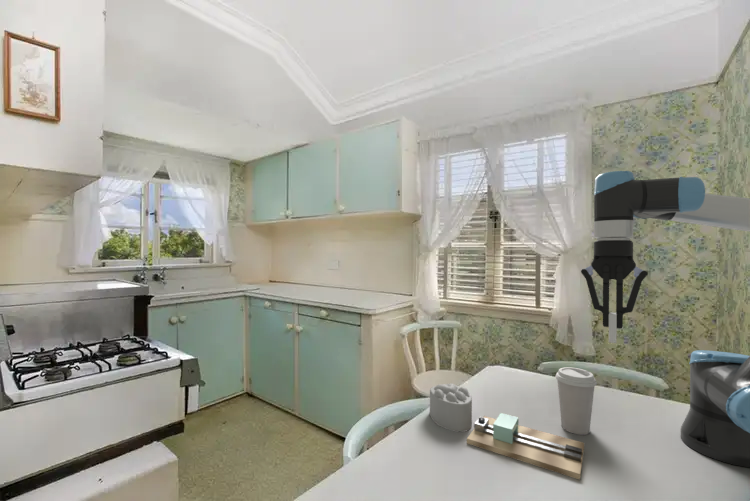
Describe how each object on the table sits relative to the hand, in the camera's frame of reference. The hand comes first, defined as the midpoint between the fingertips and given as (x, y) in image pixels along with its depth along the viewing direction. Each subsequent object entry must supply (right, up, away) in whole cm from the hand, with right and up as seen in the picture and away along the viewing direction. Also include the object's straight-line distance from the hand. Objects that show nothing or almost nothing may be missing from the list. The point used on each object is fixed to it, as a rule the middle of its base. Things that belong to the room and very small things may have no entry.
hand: (612, 341), depth 81 cm
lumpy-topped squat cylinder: (-33, -27, +17) cm, 46 cm away
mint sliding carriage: (-22, -25, +6) cm, 34 cm away
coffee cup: (-2, -27, +12) cm, 29 cm away
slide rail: (-19, -25, +4) cm, 32 cm away
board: (-19, -26, +4) cm, 33 cm away
